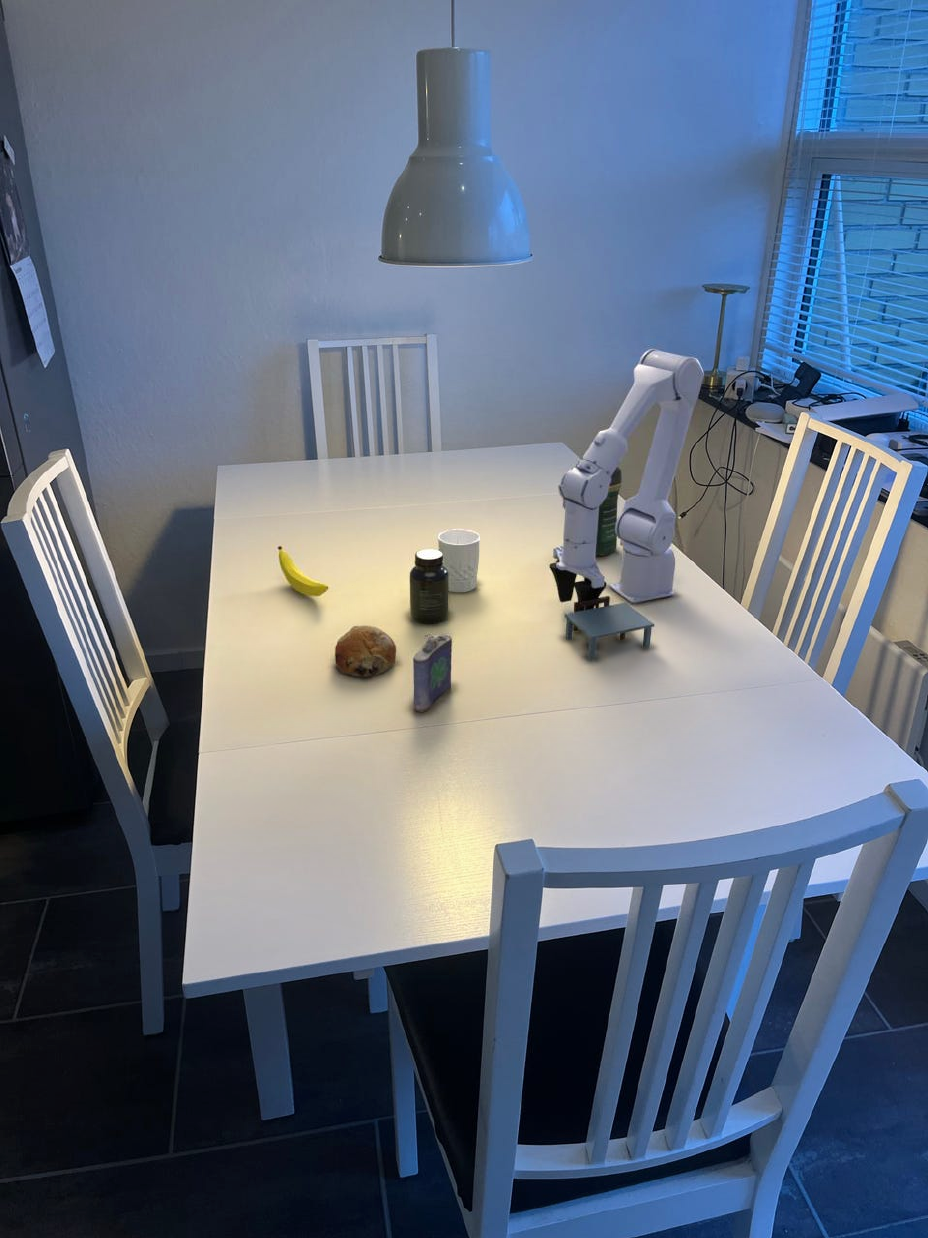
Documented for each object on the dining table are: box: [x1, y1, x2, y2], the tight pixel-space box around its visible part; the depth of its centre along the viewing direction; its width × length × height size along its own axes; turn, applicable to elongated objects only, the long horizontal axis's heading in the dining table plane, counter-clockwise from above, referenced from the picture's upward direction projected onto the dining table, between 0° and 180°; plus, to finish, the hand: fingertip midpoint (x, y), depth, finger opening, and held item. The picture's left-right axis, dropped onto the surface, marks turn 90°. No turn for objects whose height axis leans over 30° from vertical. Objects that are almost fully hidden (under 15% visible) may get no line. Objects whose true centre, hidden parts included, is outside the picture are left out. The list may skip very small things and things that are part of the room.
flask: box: [412, 633, 453, 713], centre depth 143 cm, size 9×3×11 cm, turn 151°
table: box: [564, 602, 655, 661], centre depth 161 cm, size 12×9×4 cm
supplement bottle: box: [409, 548, 450, 625], centre depth 168 cm, size 7×7×12 cm
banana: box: [277, 545, 329, 597], centre depth 177 cm, size 3×19×6 cm, turn 36°
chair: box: [573, 595, 626, 641], centre depth 163 cm, size 7×7×6 cm
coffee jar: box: [575, 460, 623, 556], centre depth 195 cm, size 10×8×19 cm
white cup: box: [437, 528, 481, 593], centre depth 180 cm, size 8×8×10 cm
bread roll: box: [334, 625, 397, 678], centre depth 154 cm, size 10×10×8 cm
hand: (575, 608), depth 170 cm, fingers open, 6 cm apart
